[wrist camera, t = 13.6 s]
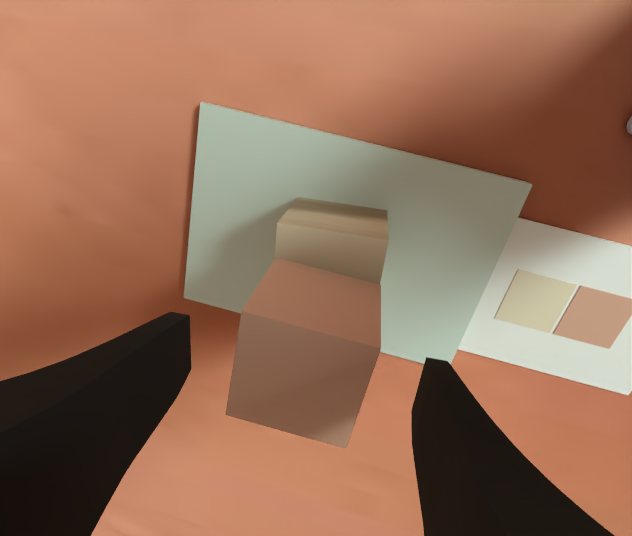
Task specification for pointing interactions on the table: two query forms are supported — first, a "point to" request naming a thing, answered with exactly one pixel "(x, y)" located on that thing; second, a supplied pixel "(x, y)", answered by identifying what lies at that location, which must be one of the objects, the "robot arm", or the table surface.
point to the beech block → (334, 238)
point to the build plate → (354, 189)
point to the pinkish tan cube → (306, 352)
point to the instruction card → (558, 307)
